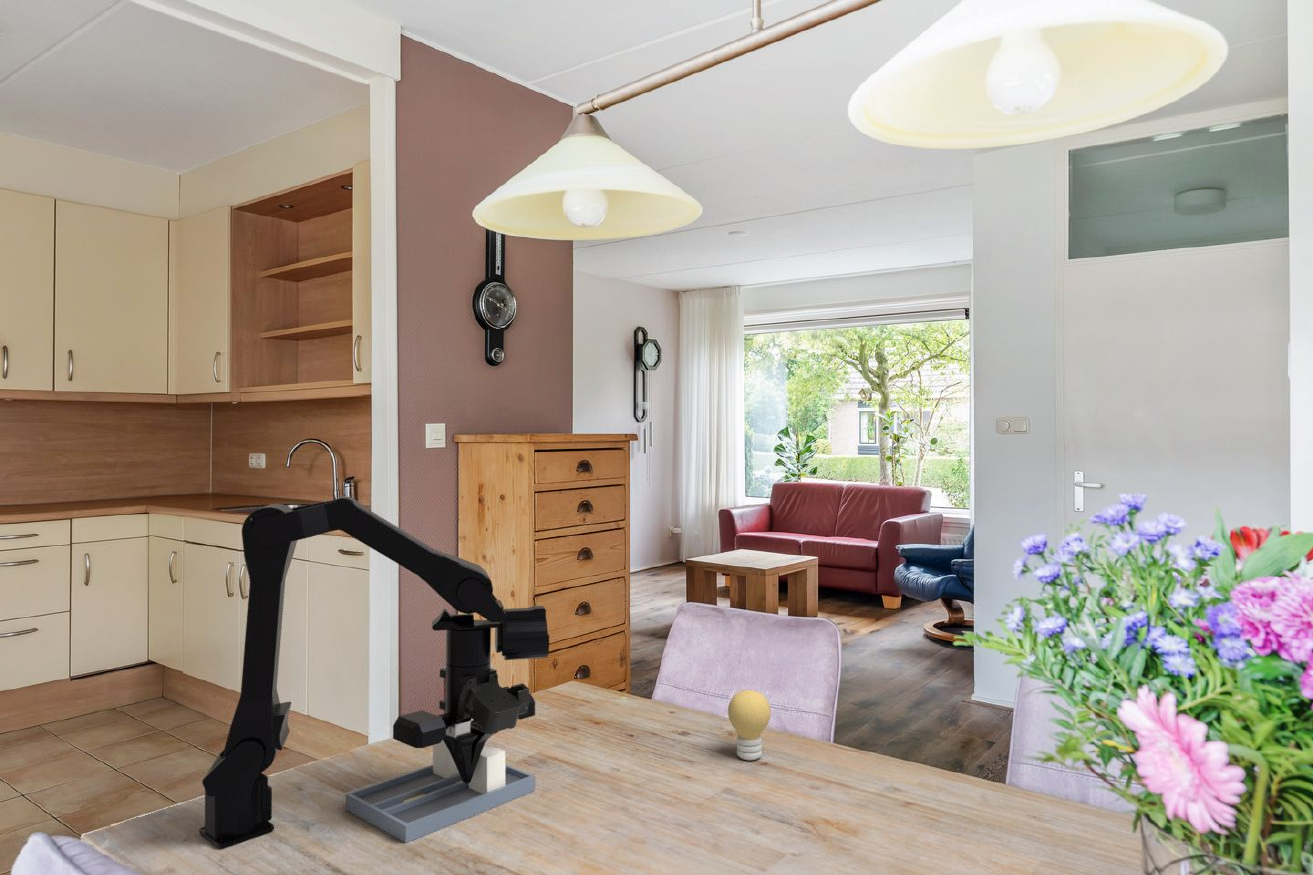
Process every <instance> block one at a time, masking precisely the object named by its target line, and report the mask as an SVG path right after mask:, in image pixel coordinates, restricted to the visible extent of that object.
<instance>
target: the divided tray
mask: <svg viewBox="0 0 1313 875" xmlns="http://www.w3.org/2000/svg"><path fill="white" fill-rule="evenodd" d="M535 791H536V775H534V774H531V773H529V772H528V771H527V772H526V771H524V770H521V769H519V768H517V767H515V766H514V767H513V766H512V765H509V764H507V763H505V786H503V787H500V788H498V789H495V790H493V791H490V792H487V793H485V794H481V793H479V792H477V791H475V790H472V789H470V788H469V783H465V782H463V781H462V778H461V776H460V774H457V775H454V776H451V777H448V778H444V777H442V776H439V775H437V774H435V773H433V764H431V765H428V766H424V767H422V768H418V769H416V770H412V771H410V772H406V773H404V774H401V775H398V776H394V777H391V778H389V779H386V780H383V781H380V782H376V783H374V784H370V785H368V786H364V787H362V788H360V789H356V790H353V791H351V792H347V793H345V810H346V811H348V812H349V813H352V814H353V815H354V816H357V817H359V818H360V819H363V820H364V821H365V822H367V823H369V824H371V825H372V826H374V827H377V828H378V829H380V830H381V831H384V832H385V833H387V834H389V835H390V836H392V837H394V838H396V839H398V840H399V841H401V842H402V843H404V844H407V843H410V842H413V841H415V840H417V839H419V838H422V837H424V836H427V835H429V834H431V833H434V832H437V831H440V830H441V829H444V828H446V827H449V826H452V825H454V824H456V823H457V824H458V823H459V822H461V821H464V820H467V819H468V818H471V817H474V816H476V815H479V814H481V813H484V812H486V811H489V810H491V809H494V808H496V807H498V806H501V805H504V804H505V803H508V802H510V801H513V800H516V799H518V798H520V797H523V796H525V795H528V794H530V793H533V792H535Z"/></svg>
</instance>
